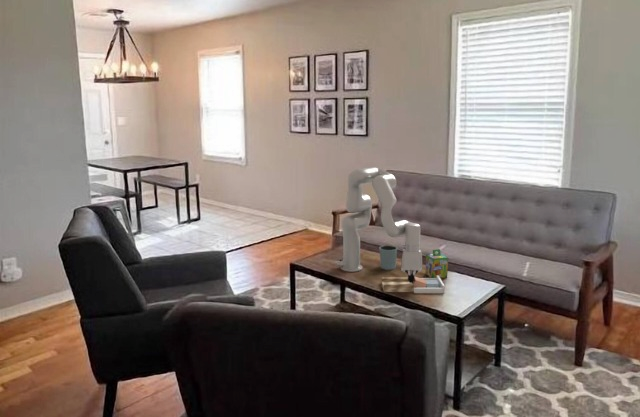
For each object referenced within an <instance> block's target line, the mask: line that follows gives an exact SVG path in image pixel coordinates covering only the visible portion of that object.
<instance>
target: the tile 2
mask: <svg viewBox="0 0 640 417" xmlns="http://www.w3.org/2000/svg"><path fill="white" fill-rule="evenodd" d="M425 281H426V283H427V285H426V288H439V283H438V281H437V280H425Z"/></svg>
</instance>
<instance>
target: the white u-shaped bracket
mask: <svg viewBox="0 0 640 417" xmlns="http://www.w3.org/2000/svg"><path fill="white" fill-rule="evenodd" d="M420 278H421V279H424V280H437V281H438V283H439V288H417V287H414V292H413V293H414V294H445V288H446V286H445V284H444V282H443V281H442V278H440V277H439V275H437V278H431V277H420ZM411 283H412V282H411Z"/></svg>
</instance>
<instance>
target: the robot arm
mask: <svg viewBox="0 0 640 417" xmlns="http://www.w3.org/2000/svg"><path fill="white" fill-rule="evenodd" d="M367 184H371V186H372V189H373V191H374V192H375V196H376V198H377V200H378V202H379V203H380V207H381V210H380V220H381V224H382V226H383V228H384V231H385V233H386V234H387V235H388V236H389V237H391V238H397V237H401V236H404V244H403V245H401V248H402V254H401V266H400V267H401V268H400V270H401V272H404V273H406V274H407V278H408V281H409V282H410V283H411V282H412V283H413V281H414V276H416V275H417V273H419V272H422V271H423V253H422V250H421V249H420V247H421V225H420V224H419V223H417V222H416V223H415V222H411V221H408V220H406V219H402V220H397V221H394V219H393V215H392V210H393V207H394V206H395V205H396V204H397V199H398V198H396V194H394V191H393V189H395V188H396V186H397V184H398V183H397V179H396V177H395V176H394V175H393V173H390V172H387V171H385V170H383V169H381V168H379V167H375V166H372V167H363V168H358V169H354V170H352V171H351V172H349V174H348V176H347V191H346V192H347V194H346V202H345V203H346V204H345V207H346V208H345V209H346V211H347V212H348V213H350V214H347V215H345V216H344V217H343V218H342V220H341V229H342V230H341V231H342V236H343V237H342V238H343V239H342V240H343V241H342V242H343V243H342V245H343V246H342V247H343V248H342V250H343V251H342V252H343V253H342V255H343V256H342V258H343V259H342V260H341V261H338V260H337V261H336V260H335V264H334V265H336V266H340V270H342V271H343V272H351V273H352V272H353V273H354V272H359V271H361V270H363V265H362V264H361V238H360V234H359V232H358V231H360V230H363V229H366V228H368V227H369V225H370V222H371V216H372V210H373V208H372V207H373V203H372V202H373V201H372V199H371V196H369V195H368V194H366V193H364V188H363V185H367ZM411 271H412V272H411Z"/></svg>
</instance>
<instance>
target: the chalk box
mask: <svg viewBox="0 0 640 417" xmlns="http://www.w3.org/2000/svg"><path fill="white" fill-rule="evenodd" d="M448 268H449V258H448V257H447V256H446V255H445V254H442V253H441V249H440V248H437V249H432V253H427V254H426V255H425V272H424V273H425V275H426V276H428V278H437V275H439V277H440V279H447V278H448V270H449V269H448Z"/></svg>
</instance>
